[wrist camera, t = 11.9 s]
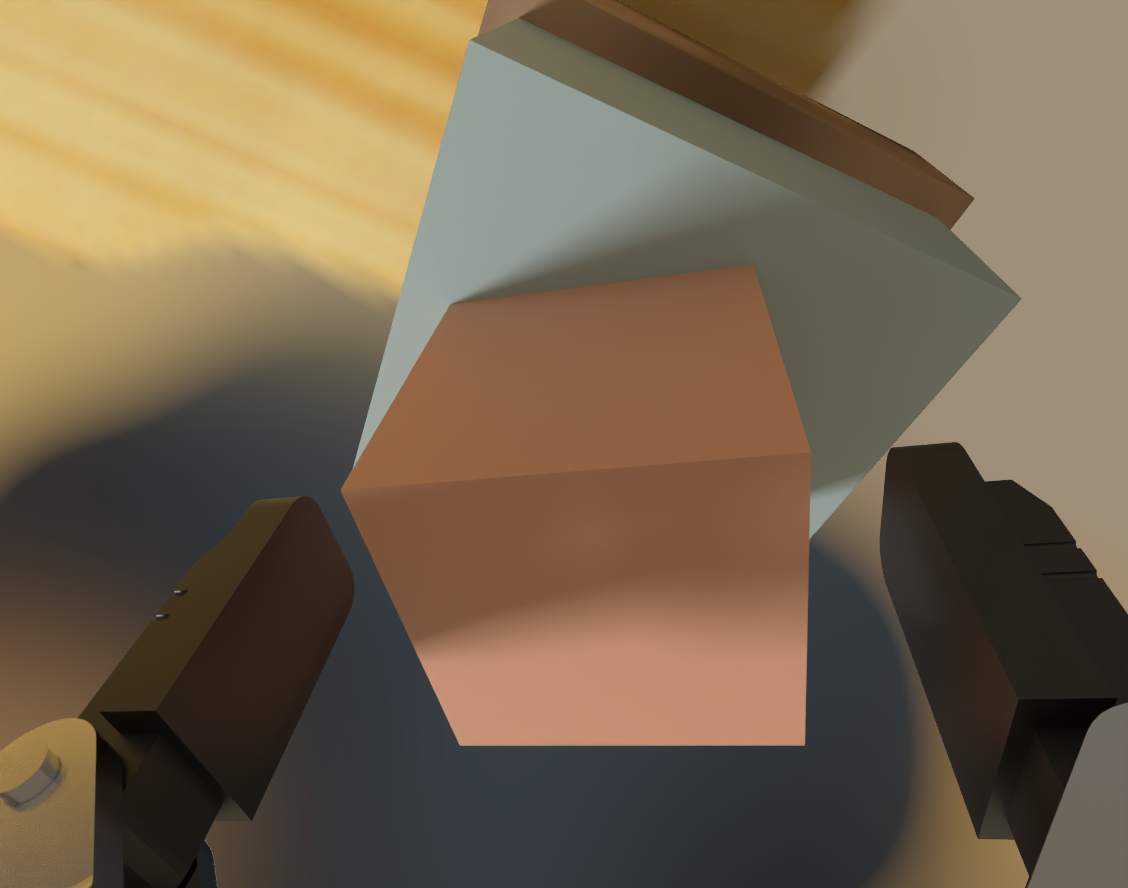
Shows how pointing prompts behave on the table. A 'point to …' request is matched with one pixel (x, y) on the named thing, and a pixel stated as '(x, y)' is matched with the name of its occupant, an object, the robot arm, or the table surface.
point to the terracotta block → (600, 516)
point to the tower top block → (690, 239)
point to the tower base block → (739, 96)
